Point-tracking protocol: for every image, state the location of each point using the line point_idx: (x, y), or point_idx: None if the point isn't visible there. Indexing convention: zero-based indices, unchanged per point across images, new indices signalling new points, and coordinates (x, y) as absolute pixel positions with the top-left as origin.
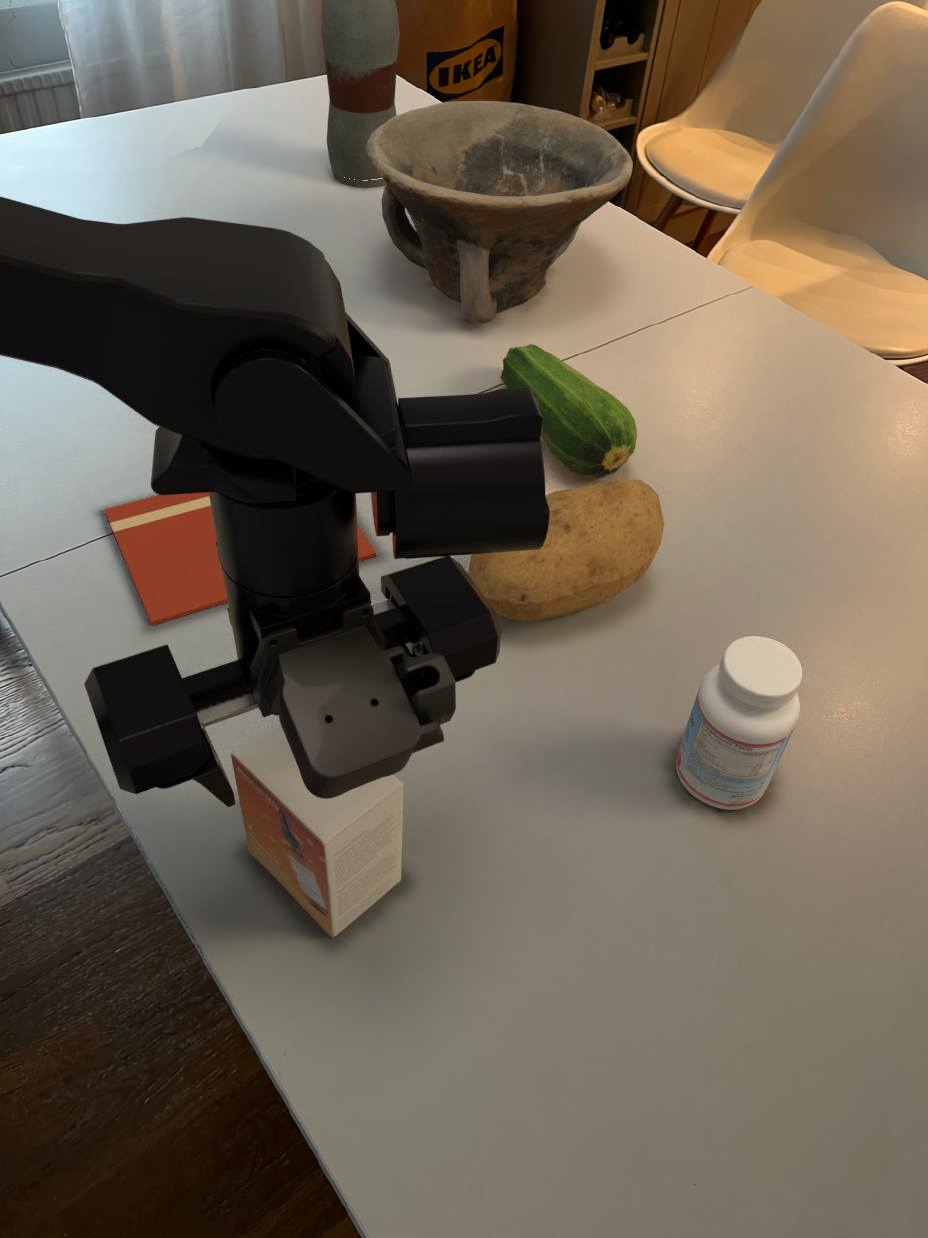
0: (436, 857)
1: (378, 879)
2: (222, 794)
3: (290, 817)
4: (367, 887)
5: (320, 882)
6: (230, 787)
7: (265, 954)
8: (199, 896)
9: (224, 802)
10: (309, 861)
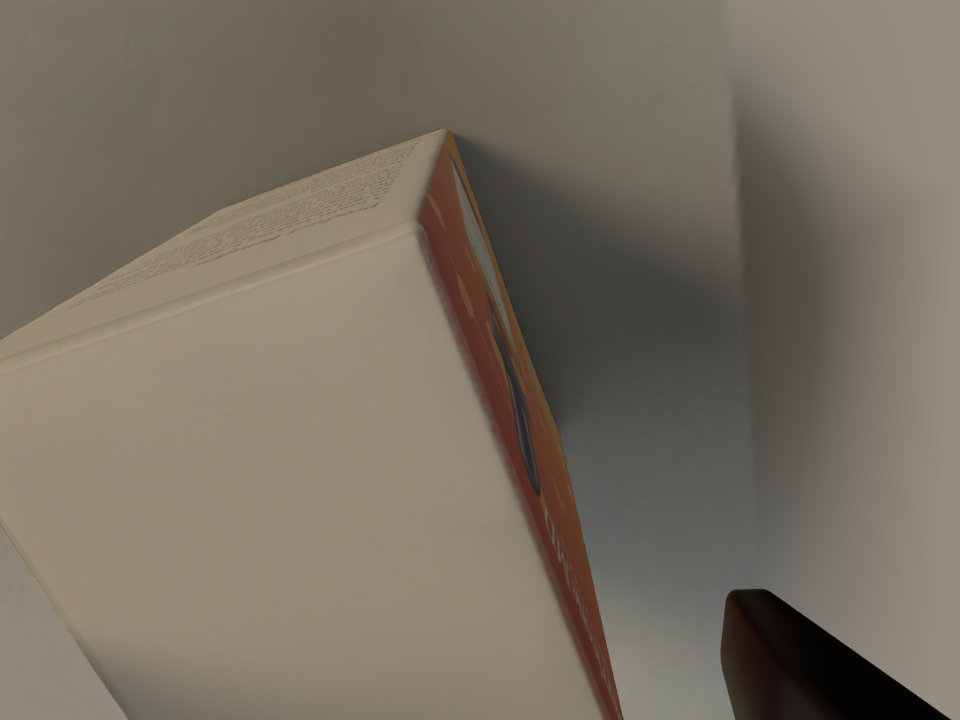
0: (106, 237)
1: (267, 198)
2: (864, 685)
3: (512, 441)
4: (307, 183)
5: (453, 198)
6: (829, 716)
7: (622, 164)
8: (706, 377)
9: (808, 624)
10: (473, 265)
